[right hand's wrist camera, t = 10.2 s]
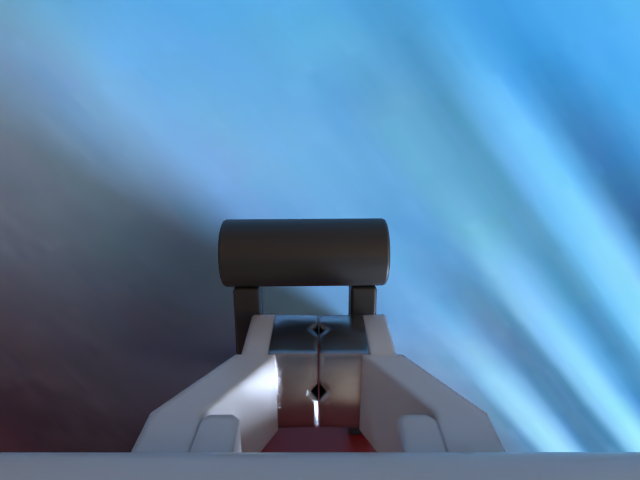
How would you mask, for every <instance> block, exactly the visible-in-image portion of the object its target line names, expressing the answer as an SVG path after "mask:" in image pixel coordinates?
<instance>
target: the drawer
mask: <svg viewBox="0 0 640 480" xmlns="http://www.w3.org/2000/svg"><path fill="white" fill-rule="evenodd" d="M218 266H219V273H220V278H221V281H222V283H223V285H224V286H226V287H235V288H234V290H233V296H234V315H235V333H236V352H237V355H241V354H242V351H243V347H244V343H245V340H246V336H247V333H248V329H249V326H250V322H251V318H252V317H253V316H254V315H263V308H262V286H349V315H376V294H377V289H376V287H375V285H384V284H386V282H387V279H388V276H389V269H390V239H389V231H388V226H387V223H386V221H385V220H384V219H243V220H225V221H223V223H222V225H221V228H220V233H219V240H218ZM318 347H319V343H318ZM318 361H319V349H318ZM261 452H377V451H376V450H375V449H374V448H373V446H372V445H371V444H370V443H369V441H368V440H367V439H366V437H365V436H364V435H363V434H362V432H361V431H360V430H359V428H342V427H320V413H319V370H318V427H295V428H278V431H277V432H276V434H275V435H274V436H273V437H272V438H271V440H270V441H269V442H268V443H267V445H266V446H265V447H264V448H263V450H262V451H261Z"/></svg>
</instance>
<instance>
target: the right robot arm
mask: <svg viewBox="0 0 640 480" xmlns="http://www.w3.org/2000/svg"><path fill="white" fill-rule="evenodd" d="M318 349H319V361H318ZM318 370H319V413H320V427H342V428H359V430H360V431H361V432H362V434H363V435H364V436H365V437H366V439H367V440H368V441H369V443H370V444H371V445H372V446H373V448H374V449H375V450H376V451H377V452H261V451H262V450H263V448H264V447H265V446H266V445H267V443H268V442H269V441H270V440H271V438H272V437H273V436H274V435H275V434H276V432H277V431H278V428H295V427H318ZM0 480H640V452H505V450H504V448H503V446H502V444H501V442H500V440H499V438H498V436H497V434H496V432H495V429H494V427H493V425H492V423H491V421H490V419H489V417H488V415H487V413H485V412H484V411H482V410H481V409H480V408H478V407H477V406H475V405H474V404H472V403H471V402H469V401H468V400H467V399H465V398H464V397H462V396H461V395H459V394H458V393H457V392H455V391H454V390H452V389H451V388H449V387H448V386H447V385H445V384H444V383H442V382H441V381H439V380H438V379H436V378H435V377H434V376H432V375H431V374H429V373H428V372H426V371H425V370H424V369H422V368H421V367H419V366H418V365H416V364H415V363H413V362H412V361H411V360H409V359H408V358H406V357H405V356H403V355H396V353H395V349H394V346H393V342H392V338H391V335H390V331H389V327H388V324H387V320H386V316H385V315H383V314H377V315H339V316H320V317H319V347H318V316H313V315H276V316H275V315H274V314H269V315H254V316H253V317H252V318H251V322H250V326H249V329H248V333H247V336H246V340H245V343H244V347H243V351H242V354H241V355H234V356H232V357H231V358H230V359H228V360H227V361H225V362H224V363H222V364H221V365H219V366H218V367H216V368H215V369H214V370H212V371H211V372H209V373H208V374H206V375H205V376H203V377H202V378H200V379H199V380H198V381H196V382H195V383H193V384H192V385H190V386H189V387H187V388H186V389H184V390H183V391H182V392H180V393H179V394H177V395H176V396H174V397H173V398H171V399H170V400H168V401H167V402H166V403H164V404H163V405H161V406H160V407H158V408H157V409H155V410H154V411H152V412H151V413H150V415H149V417H148V419H147V421H146V423H145V425H144V427H143V429H142V431H141V433H140V435H139V437H138V439H137V441H136V443H135V445H134V447H133V449H132V451H131V452H0Z"/></svg>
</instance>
